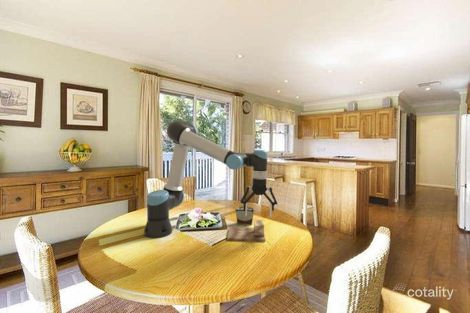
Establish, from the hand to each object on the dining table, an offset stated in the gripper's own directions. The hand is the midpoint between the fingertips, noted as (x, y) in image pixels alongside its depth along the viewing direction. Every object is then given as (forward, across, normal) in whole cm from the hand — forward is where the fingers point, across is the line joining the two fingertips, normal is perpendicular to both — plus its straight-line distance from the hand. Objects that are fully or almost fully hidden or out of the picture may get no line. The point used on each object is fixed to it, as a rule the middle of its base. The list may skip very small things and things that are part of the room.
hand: (258, 216), depth 132 cm
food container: (+12, -7, +20) cm, 24 cm away
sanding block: (+10, +1, 0) cm, 10 cm away
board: (+11, -6, 0) cm, 13 cm away
